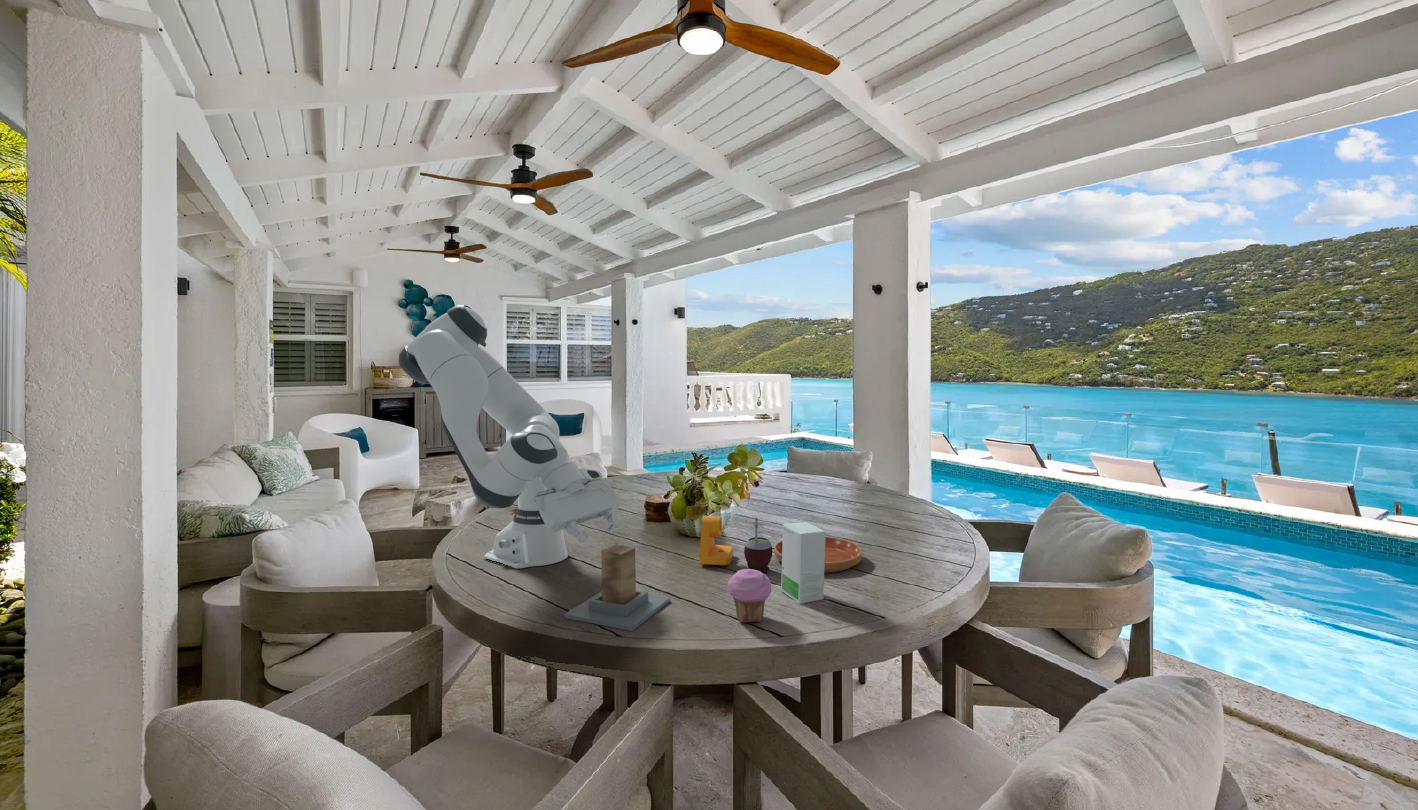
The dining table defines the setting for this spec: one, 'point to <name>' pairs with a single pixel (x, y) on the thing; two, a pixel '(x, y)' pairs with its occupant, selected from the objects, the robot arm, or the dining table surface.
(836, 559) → the saucer
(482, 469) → the robot arm
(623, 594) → the block
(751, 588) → the cupcake
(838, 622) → the dining table surface
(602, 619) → the housing
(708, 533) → the bracket
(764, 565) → the mate gourd
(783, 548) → the skincare box
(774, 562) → the dining table surface
